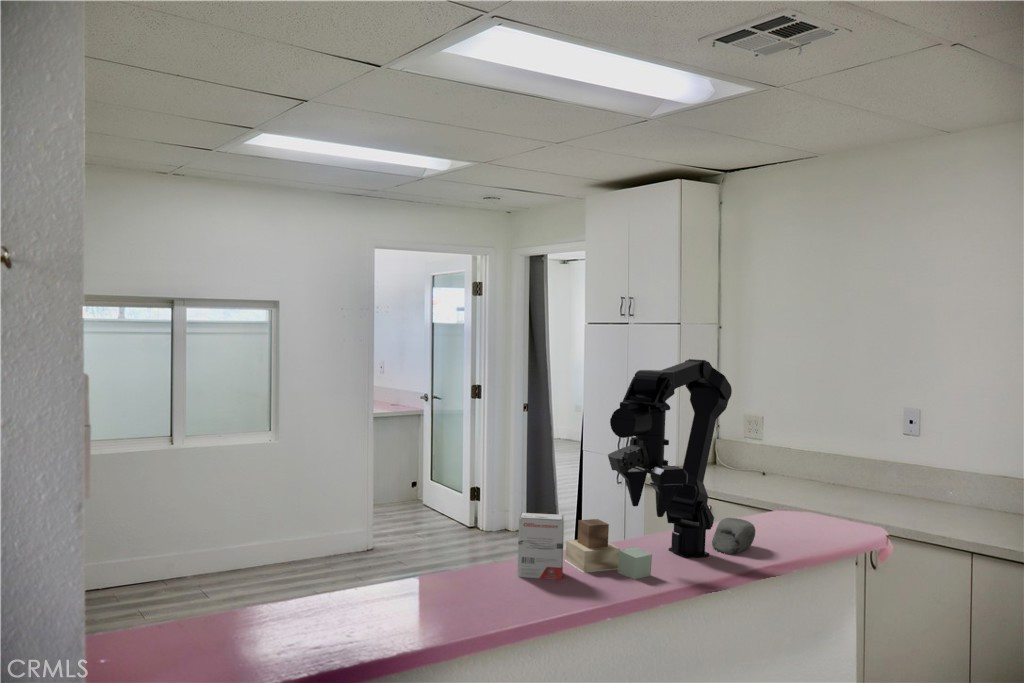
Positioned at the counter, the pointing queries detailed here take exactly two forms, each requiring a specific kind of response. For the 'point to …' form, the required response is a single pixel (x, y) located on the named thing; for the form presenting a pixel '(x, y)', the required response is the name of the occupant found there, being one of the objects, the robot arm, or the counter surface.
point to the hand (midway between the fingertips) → (647, 511)
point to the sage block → (634, 563)
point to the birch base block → (592, 556)
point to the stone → (733, 536)
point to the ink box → (540, 546)
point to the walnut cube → (593, 533)
